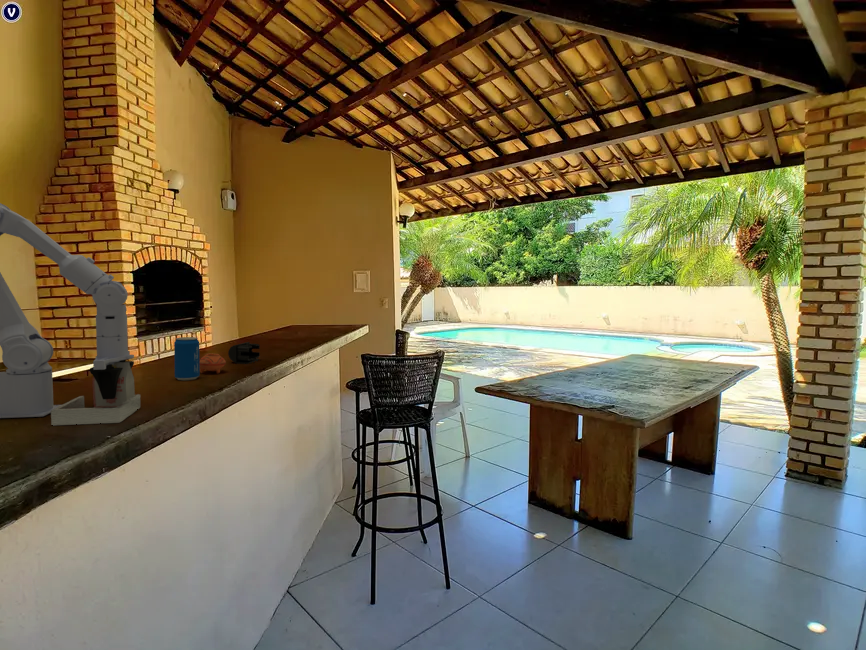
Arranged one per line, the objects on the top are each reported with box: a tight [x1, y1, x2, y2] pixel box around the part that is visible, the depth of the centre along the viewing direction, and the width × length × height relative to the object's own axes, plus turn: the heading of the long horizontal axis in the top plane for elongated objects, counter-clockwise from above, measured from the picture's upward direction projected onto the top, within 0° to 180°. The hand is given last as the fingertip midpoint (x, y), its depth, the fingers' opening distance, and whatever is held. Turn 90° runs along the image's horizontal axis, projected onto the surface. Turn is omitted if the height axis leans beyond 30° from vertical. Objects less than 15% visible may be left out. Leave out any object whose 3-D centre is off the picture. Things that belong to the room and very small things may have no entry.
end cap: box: [227, 341, 261, 365], centre depth 167 cm, size 10×7×7 cm
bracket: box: [50, 393, 141, 426], centre depth 96 cm, size 12×12×3 cm
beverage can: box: [173, 336, 201, 381], centre depth 135 cm, size 6×6×12 cm
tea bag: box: [91, 362, 136, 408], centre depth 104 cm, size 4×7×10 cm, turn 98°
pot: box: [200, 352, 227, 375], centre depth 145 cm, size 8×8×7 cm
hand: (113, 396), depth 104 cm, fingers open, 5 cm apart
